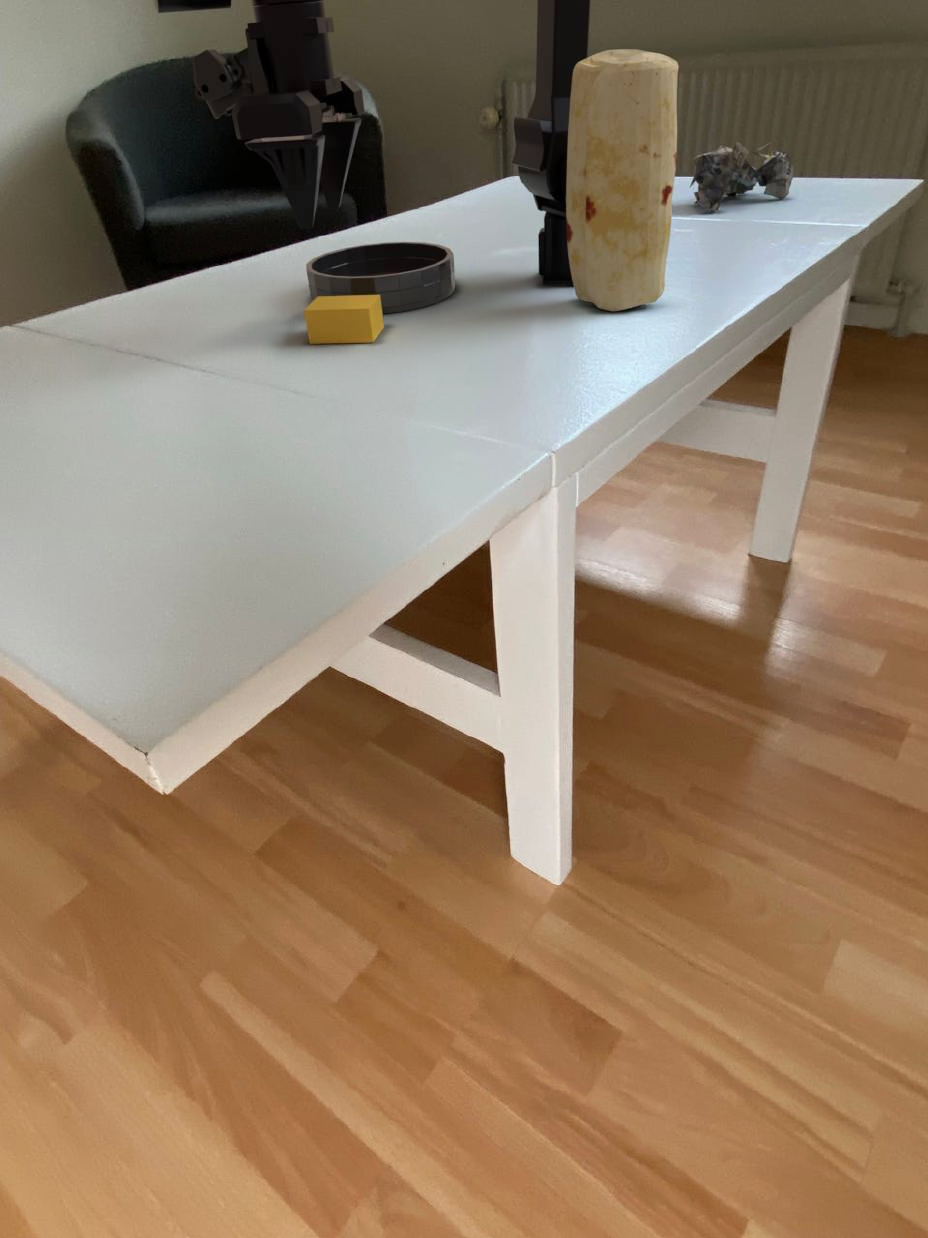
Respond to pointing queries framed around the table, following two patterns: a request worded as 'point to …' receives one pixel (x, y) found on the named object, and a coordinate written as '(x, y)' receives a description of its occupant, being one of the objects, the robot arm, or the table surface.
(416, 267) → the pan
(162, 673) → the table surface
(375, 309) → the sponge
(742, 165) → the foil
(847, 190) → the table surface
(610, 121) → the food model
